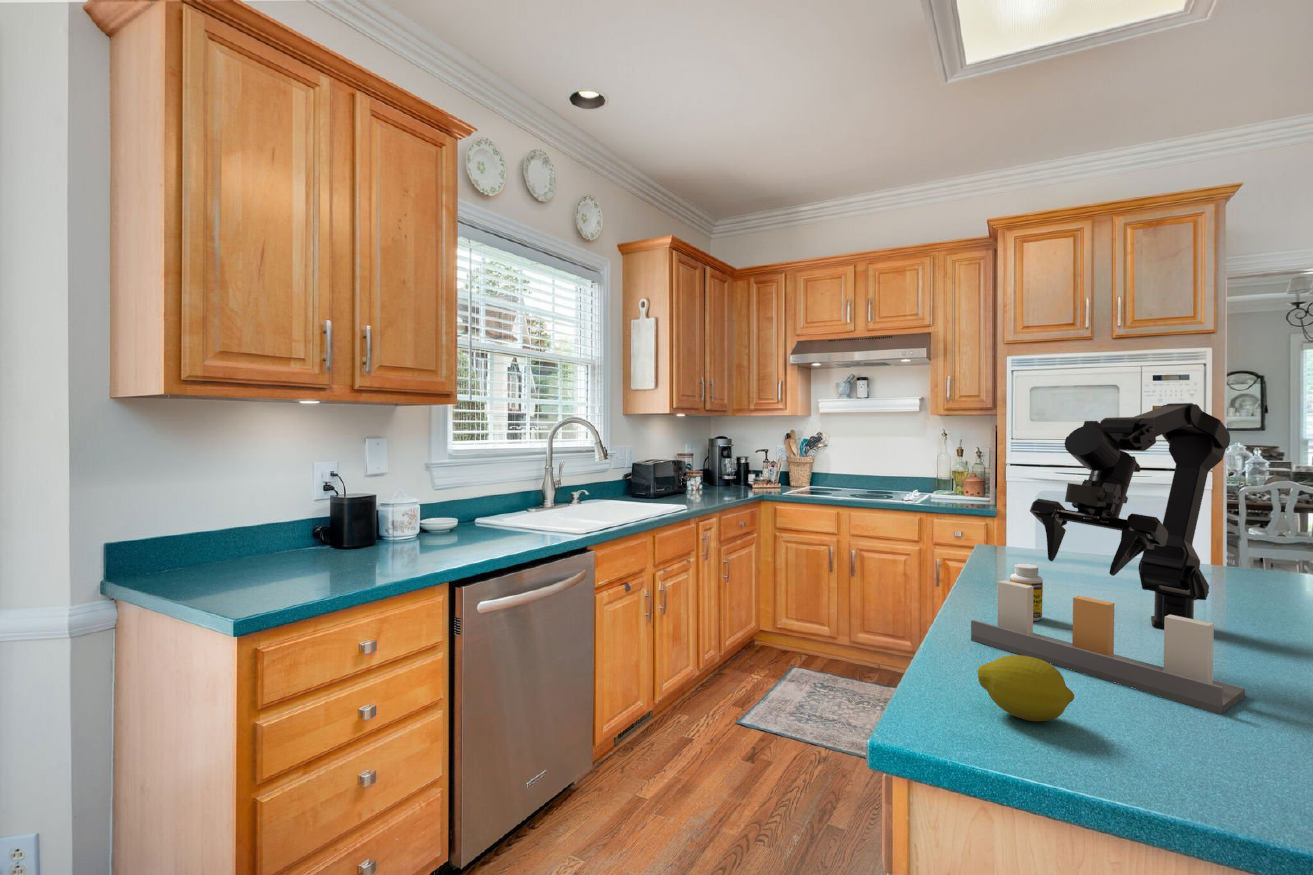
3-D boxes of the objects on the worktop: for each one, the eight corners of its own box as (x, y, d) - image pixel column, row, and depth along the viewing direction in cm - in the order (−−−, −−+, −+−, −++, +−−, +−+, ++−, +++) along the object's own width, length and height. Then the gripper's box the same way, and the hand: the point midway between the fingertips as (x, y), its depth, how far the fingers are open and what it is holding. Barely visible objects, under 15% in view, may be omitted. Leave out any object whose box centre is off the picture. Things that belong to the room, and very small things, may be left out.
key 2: (1168, 675, 93) (1169, 614, 93) (1212, 687, 89) (1213, 623, 89) (1163, 678, 92) (1164, 616, 92) (1207, 690, 88) (1208, 626, 87)
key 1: (1003, 630, 113) (1004, 580, 113) (1032, 638, 109) (1033, 586, 109) (997, 632, 112) (998, 581, 112) (1026, 640, 108) (1027, 588, 107)
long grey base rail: (1001, 629, 117) (1001, 610, 117) (1245, 695, 89) (1245, 671, 89) (971, 640, 112) (971, 620, 112) (1220, 714, 83) (1221, 688, 83)
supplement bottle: (1033, 623, 121) (1034, 570, 120) (1003, 616, 125) (1004, 564, 125) (1047, 618, 124) (1048, 566, 123) (1018, 611, 128) (1019, 561, 128)
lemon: (1077, 719, 82) (1078, 658, 82) (1068, 742, 76) (1069, 676, 76) (986, 695, 89) (986, 639, 89) (971, 715, 83) (971, 655, 83)
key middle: (1078, 650, 103) (1078, 595, 103) (1113, 660, 99) (1114, 603, 99) (1072, 653, 102) (1073, 597, 102) (1107, 663, 98) (1108, 605, 97)
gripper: (1031, 455, 112) (1002, 536, 109) (1159, 469, 96) (1129, 563, 93) (1056, 483, 118) (1029, 560, 114) (1180, 500, 102) (1153, 590, 99)
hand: (1079, 567), depth 105 cm, fingers open, 9 cm apart
